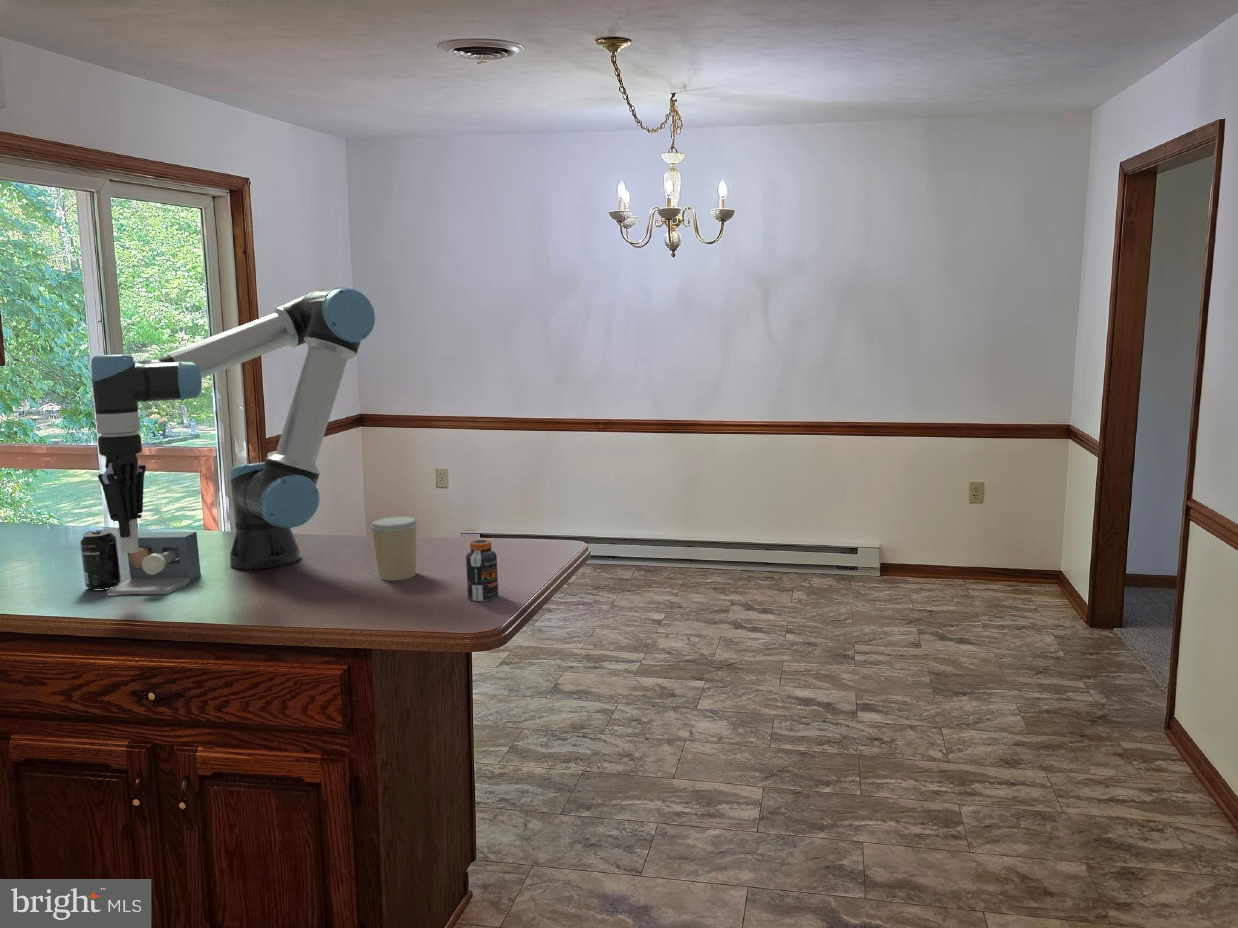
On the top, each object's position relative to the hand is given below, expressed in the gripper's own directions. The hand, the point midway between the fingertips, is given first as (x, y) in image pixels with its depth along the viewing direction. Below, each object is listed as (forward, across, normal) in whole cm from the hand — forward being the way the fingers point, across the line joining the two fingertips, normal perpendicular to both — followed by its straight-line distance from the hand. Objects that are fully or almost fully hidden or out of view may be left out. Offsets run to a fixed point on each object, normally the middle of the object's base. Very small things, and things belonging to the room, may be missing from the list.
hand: (130, 551), depth 195 cm
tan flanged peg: (+6, -19, -6) cm, 20 cm away
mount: (+10, -12, -3) cm, 16 cm away
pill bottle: (+10, 0, +70) cm, 71 cm away
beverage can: (+11, -12, -13) cm, 21 cm away
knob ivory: (+6, -13, 0) cm, 14 cm away
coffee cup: (+10, -17, +48) cm, 52 cm away
